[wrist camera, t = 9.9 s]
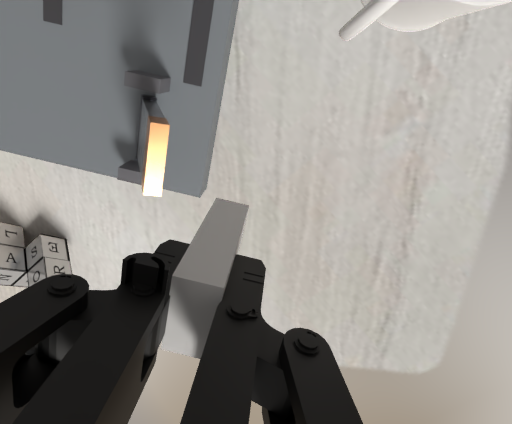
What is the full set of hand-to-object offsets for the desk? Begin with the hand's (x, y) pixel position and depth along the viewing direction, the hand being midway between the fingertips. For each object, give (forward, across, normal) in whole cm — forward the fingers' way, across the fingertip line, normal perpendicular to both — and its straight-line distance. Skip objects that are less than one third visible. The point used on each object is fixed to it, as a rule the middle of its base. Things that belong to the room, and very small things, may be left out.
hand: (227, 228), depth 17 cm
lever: (+14, -9, 0) cm, 16 cm away
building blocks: (+17, -20, -15) cm, 30 cm away
